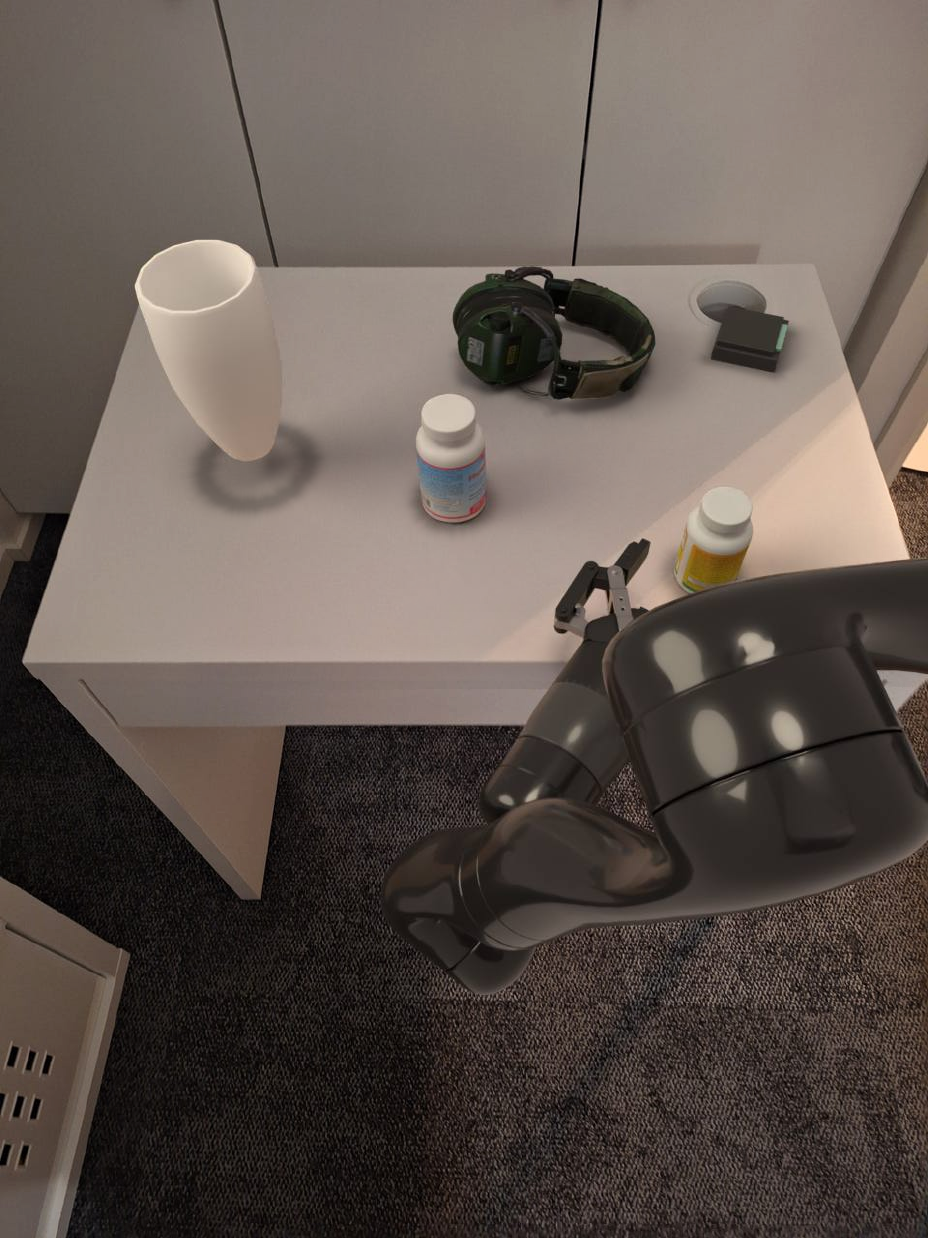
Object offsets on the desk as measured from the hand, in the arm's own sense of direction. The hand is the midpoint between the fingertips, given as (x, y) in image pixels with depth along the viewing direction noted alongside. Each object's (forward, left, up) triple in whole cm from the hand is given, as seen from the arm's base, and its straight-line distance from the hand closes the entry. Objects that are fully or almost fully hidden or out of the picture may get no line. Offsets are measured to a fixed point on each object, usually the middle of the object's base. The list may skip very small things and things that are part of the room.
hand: (693, 568), depth 73 cm
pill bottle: (+23, -6, -7) cm, 25 cm away
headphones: (+20, -26, -7) cm, 34 cm away
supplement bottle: (-1, -5, -7) cm, 8 cm away
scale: (+1, -36, -7) cm, 37 cm away
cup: (+43, -4, -7) cm, 44 cm away
